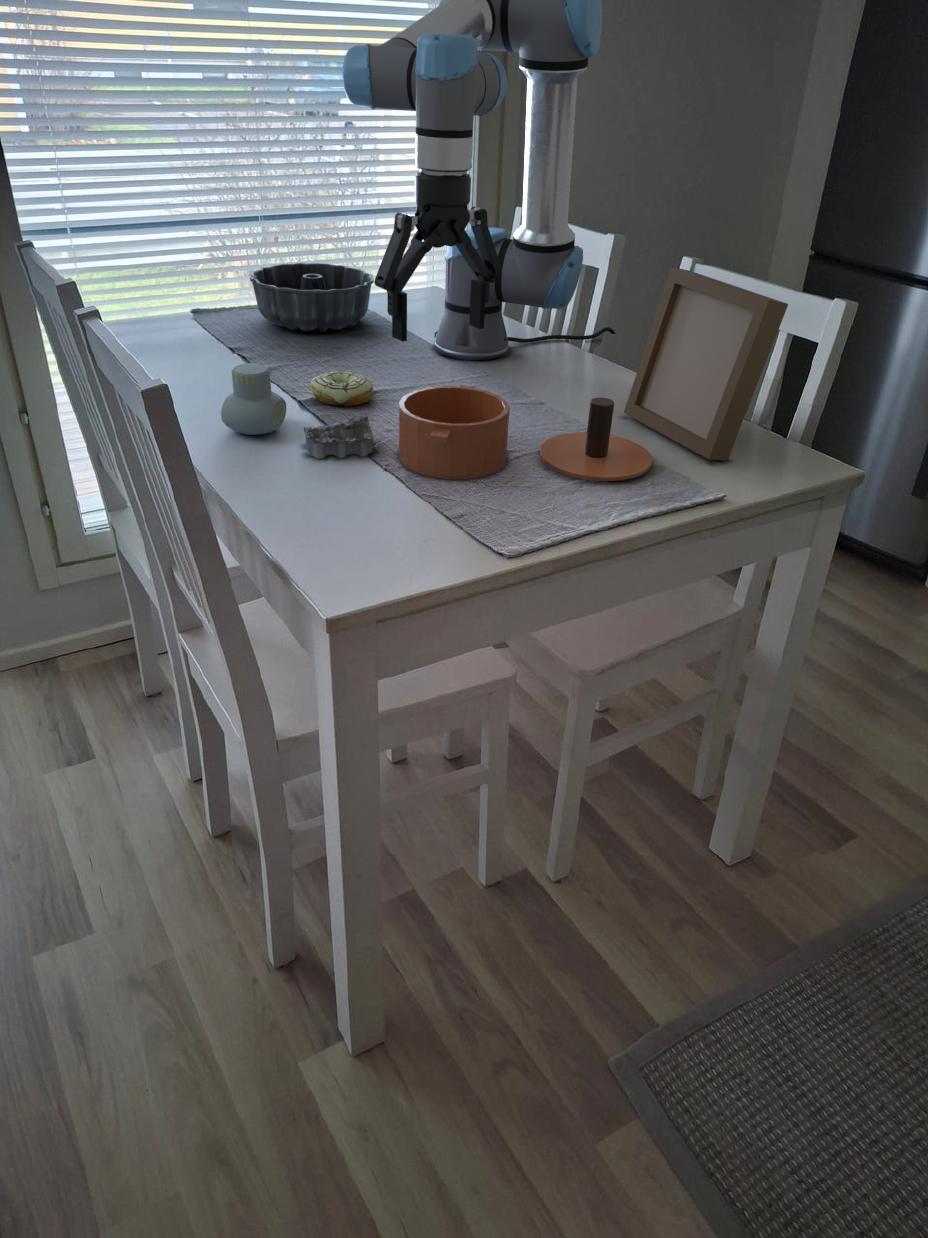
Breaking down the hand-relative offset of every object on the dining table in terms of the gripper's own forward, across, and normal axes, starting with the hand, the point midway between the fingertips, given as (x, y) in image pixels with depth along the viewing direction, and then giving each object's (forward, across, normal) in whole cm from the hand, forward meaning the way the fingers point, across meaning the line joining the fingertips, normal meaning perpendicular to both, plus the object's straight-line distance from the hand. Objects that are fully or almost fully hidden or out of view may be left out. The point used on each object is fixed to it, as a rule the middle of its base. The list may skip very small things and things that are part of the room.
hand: (438, 332), depth 132 cm
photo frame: (+19, -43, +15) cm, 50 cm away
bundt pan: (+19, -18, -73) cm, 78 cm away
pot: (+19, -2, +2) cm, 19 cm away
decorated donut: (+19, +1, -29) cm, 35 cm away
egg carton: (+19, +12, -9) cm, 24 cm away
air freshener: (+19, +20, -23) cm, 36 cm away
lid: (+18, -20, +15) cm, 31 cm away
